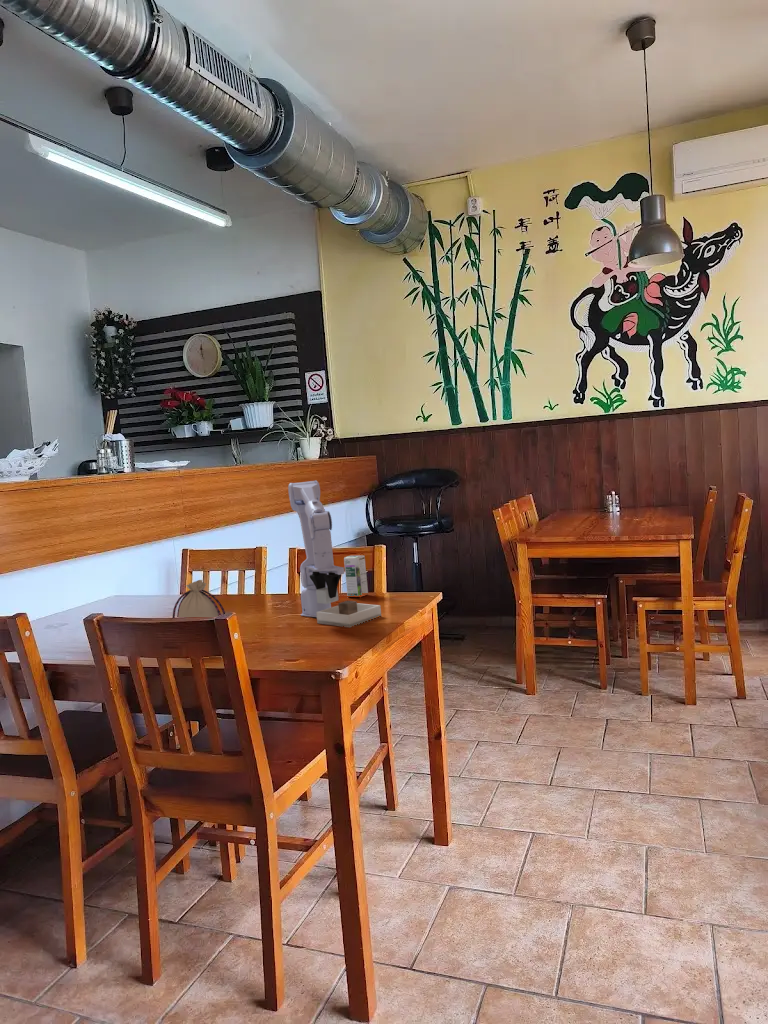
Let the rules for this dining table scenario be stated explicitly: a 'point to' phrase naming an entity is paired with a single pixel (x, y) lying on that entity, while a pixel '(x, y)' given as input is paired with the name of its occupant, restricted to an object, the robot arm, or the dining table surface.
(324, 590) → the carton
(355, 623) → the tote
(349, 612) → the walnut block
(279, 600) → the dining table surface
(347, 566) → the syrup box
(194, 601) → the pouch
